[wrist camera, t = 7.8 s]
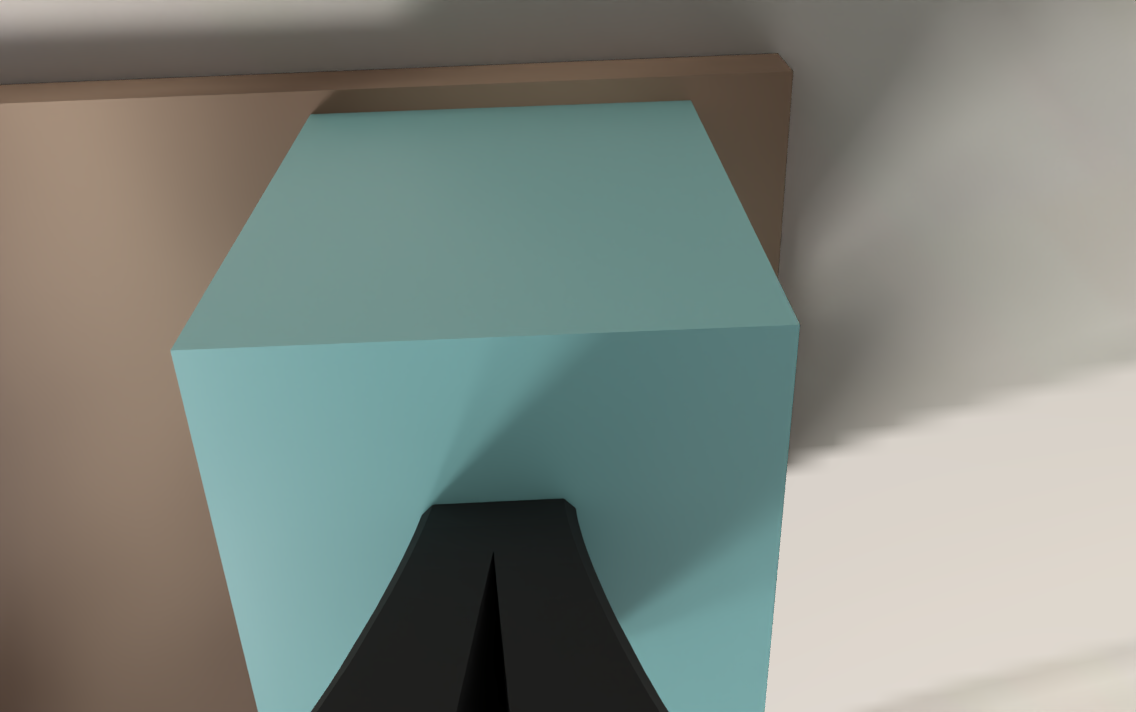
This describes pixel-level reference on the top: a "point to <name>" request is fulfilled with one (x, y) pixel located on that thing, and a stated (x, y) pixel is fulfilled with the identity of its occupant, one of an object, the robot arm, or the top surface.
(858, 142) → the top surface
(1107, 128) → the top surface
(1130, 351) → the top surface
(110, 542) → the board
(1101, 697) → the top surface
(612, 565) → the teal foam cube
